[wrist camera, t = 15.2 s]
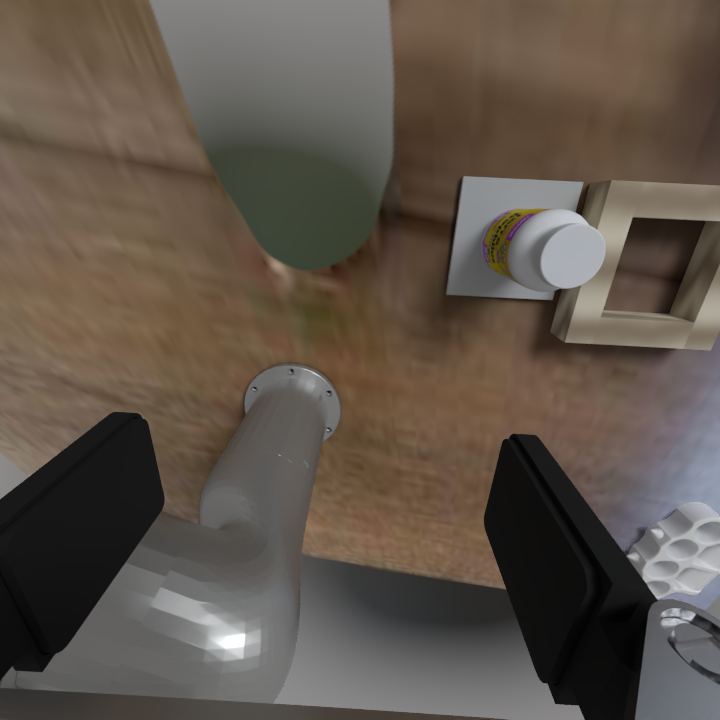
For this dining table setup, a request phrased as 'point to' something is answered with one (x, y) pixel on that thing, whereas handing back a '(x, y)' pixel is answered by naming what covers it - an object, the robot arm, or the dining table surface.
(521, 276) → the supplement bottle
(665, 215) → the cup holder
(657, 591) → the white scalloped holder tray
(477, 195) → the grey mat
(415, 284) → the dining table surface
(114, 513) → the robot arm
